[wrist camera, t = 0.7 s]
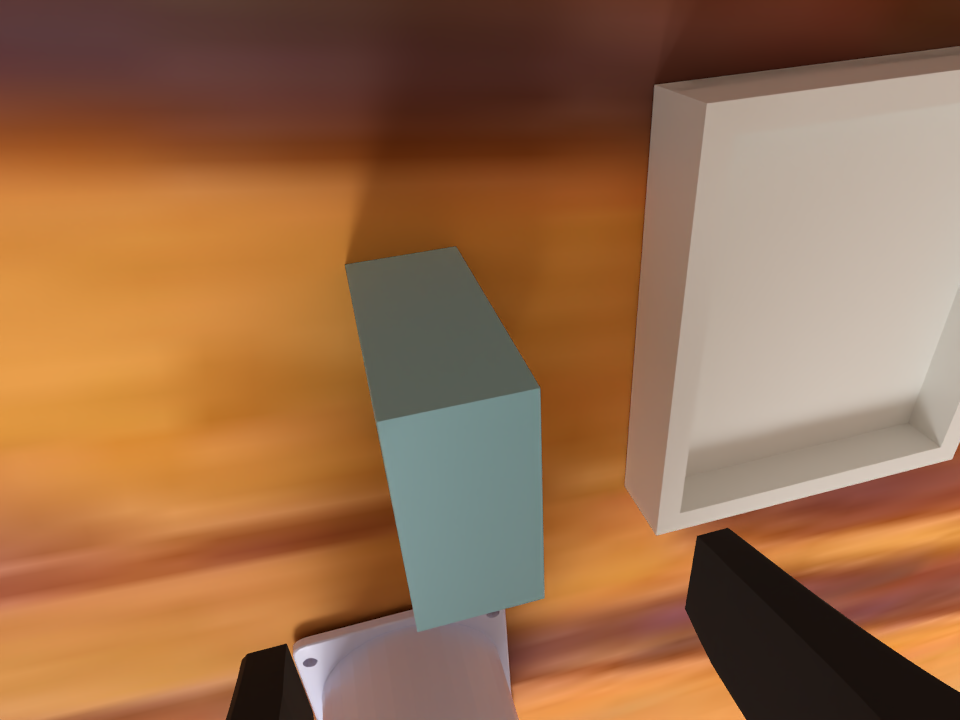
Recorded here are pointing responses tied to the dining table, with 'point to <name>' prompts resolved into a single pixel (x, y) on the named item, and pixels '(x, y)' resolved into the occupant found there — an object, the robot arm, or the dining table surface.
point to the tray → (797, 285)
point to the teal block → (452, 435)
